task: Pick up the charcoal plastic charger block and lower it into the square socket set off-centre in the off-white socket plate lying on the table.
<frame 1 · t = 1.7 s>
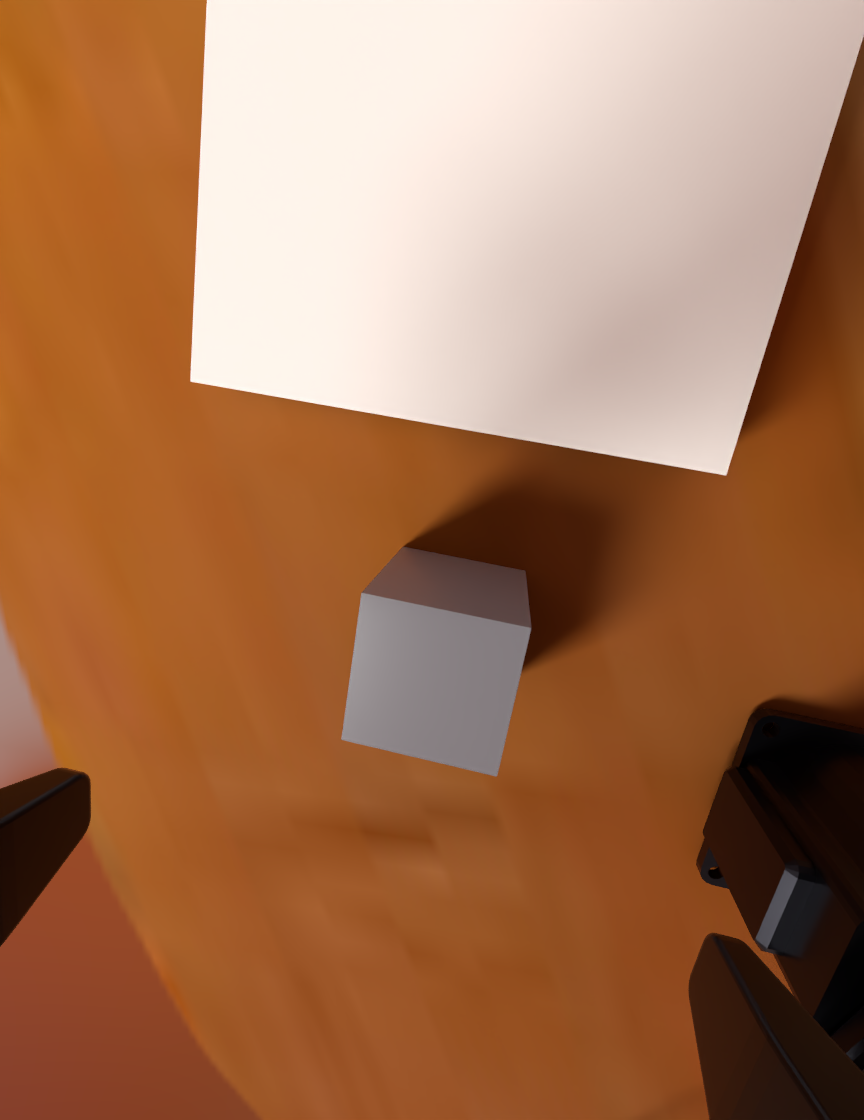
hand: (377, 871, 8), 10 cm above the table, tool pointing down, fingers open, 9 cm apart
charger: (452, 615, 18), on the table
socket plate: (516, 69, 14), on the table
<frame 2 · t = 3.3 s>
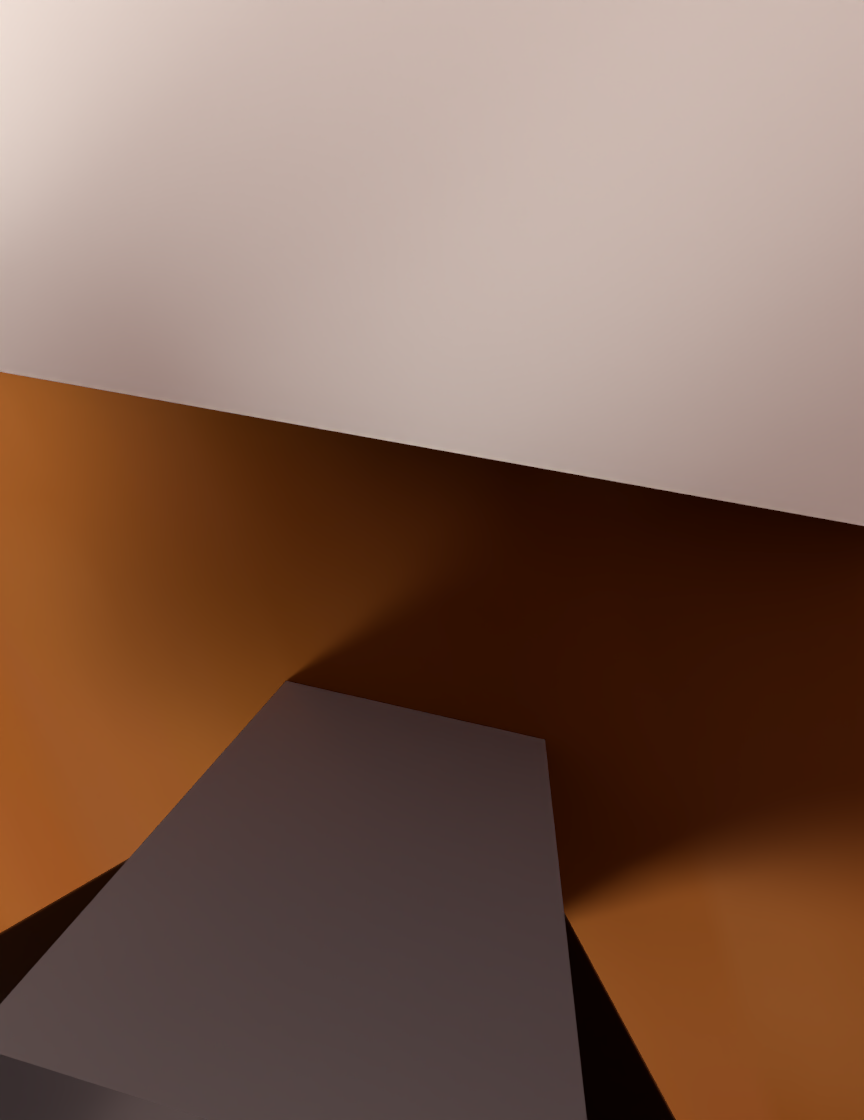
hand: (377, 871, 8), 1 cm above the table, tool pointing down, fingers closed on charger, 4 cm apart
charger: (393, 818, 8), on the table, touching gripper
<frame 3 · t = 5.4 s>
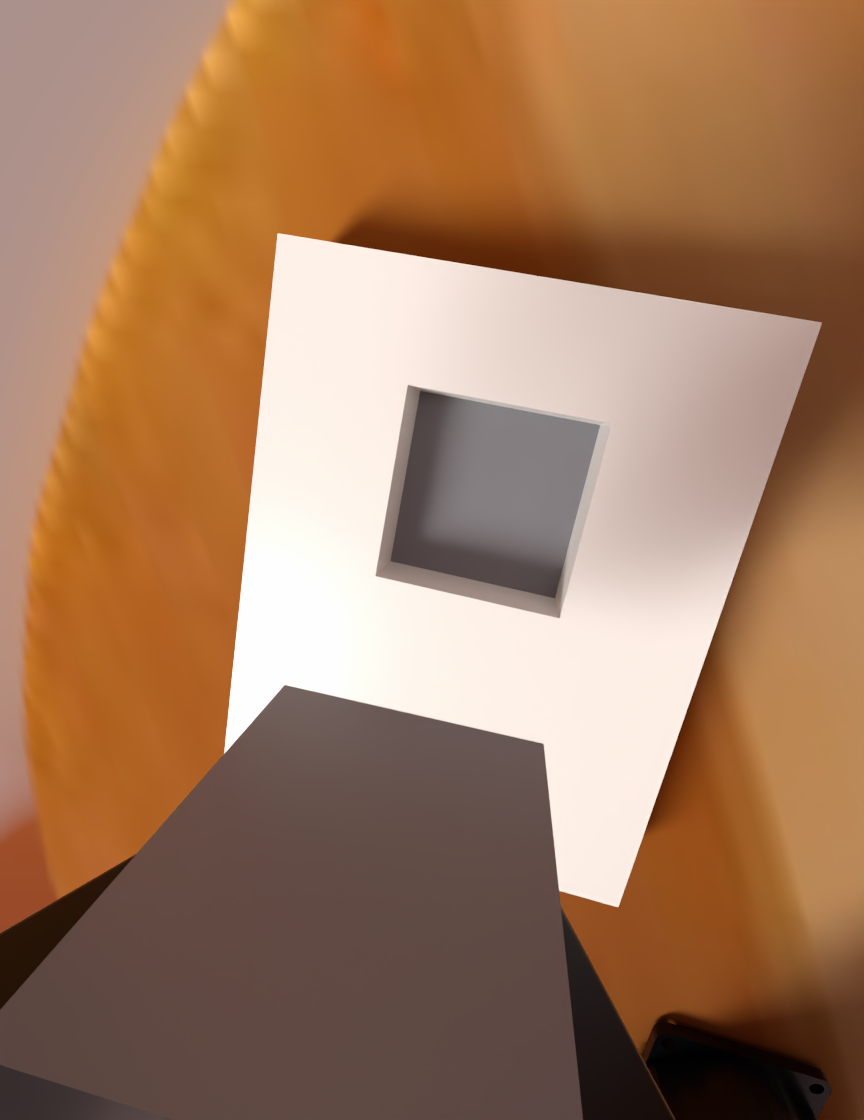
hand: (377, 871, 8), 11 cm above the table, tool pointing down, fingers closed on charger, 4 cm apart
charger: (392, 822, 8), point 10 cm above the table, touching gripper
socket plate: (471, 581, 18), on the table
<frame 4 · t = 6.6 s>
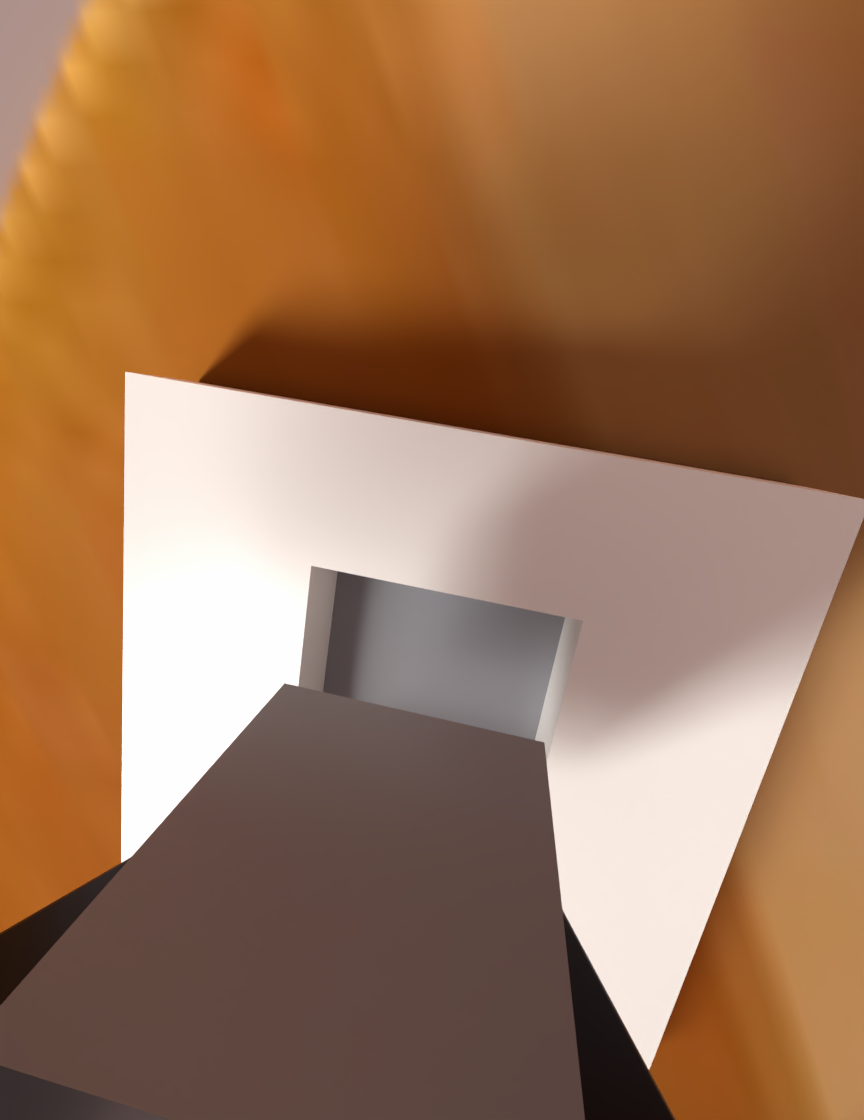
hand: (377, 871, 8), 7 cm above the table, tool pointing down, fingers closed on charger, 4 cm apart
charger: (392, 821, 8), point 6 cm above the table, touching gripper
socket plate: (419, 761, 15), on the table
when the fingers open (3 cm above the table, at t = 7.5 s): charger drops 2 cm, resting on socket plate.
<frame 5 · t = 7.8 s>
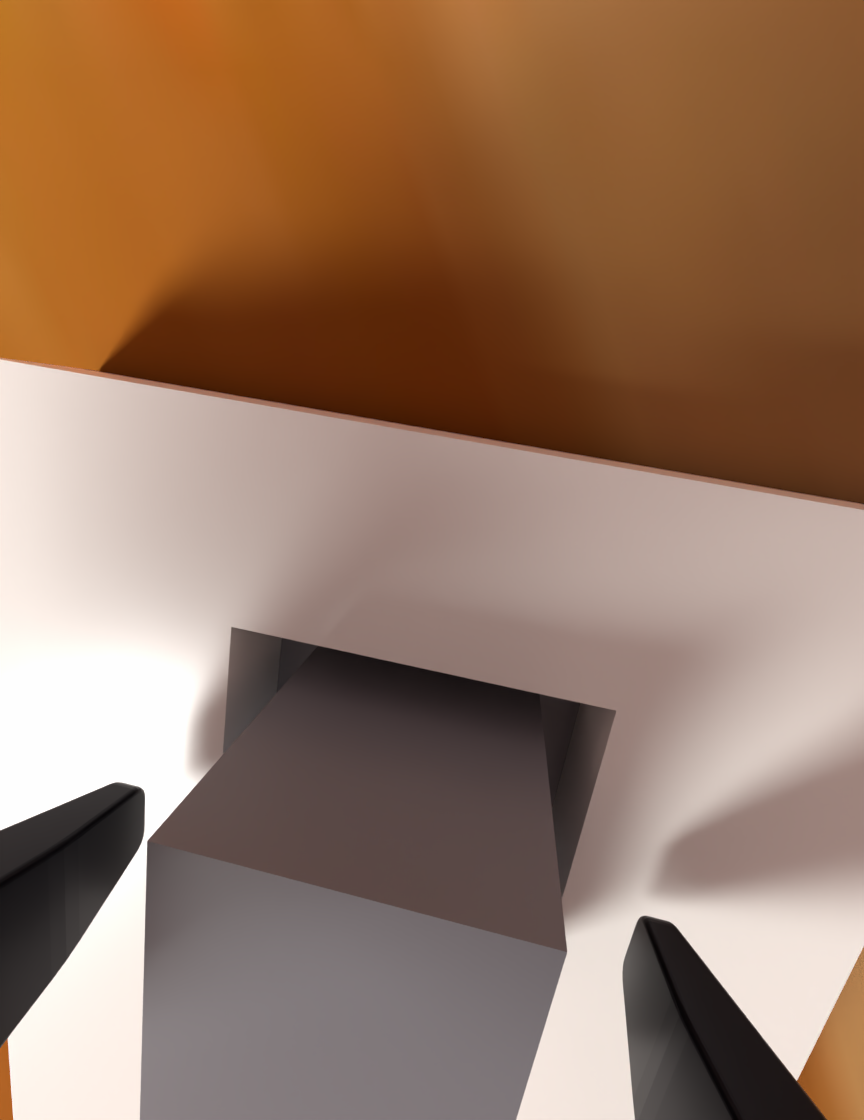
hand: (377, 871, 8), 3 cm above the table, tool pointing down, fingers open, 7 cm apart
charger: (412, 755, 10), resting on socket plate
socket plate: (395, 857, 11), on the table
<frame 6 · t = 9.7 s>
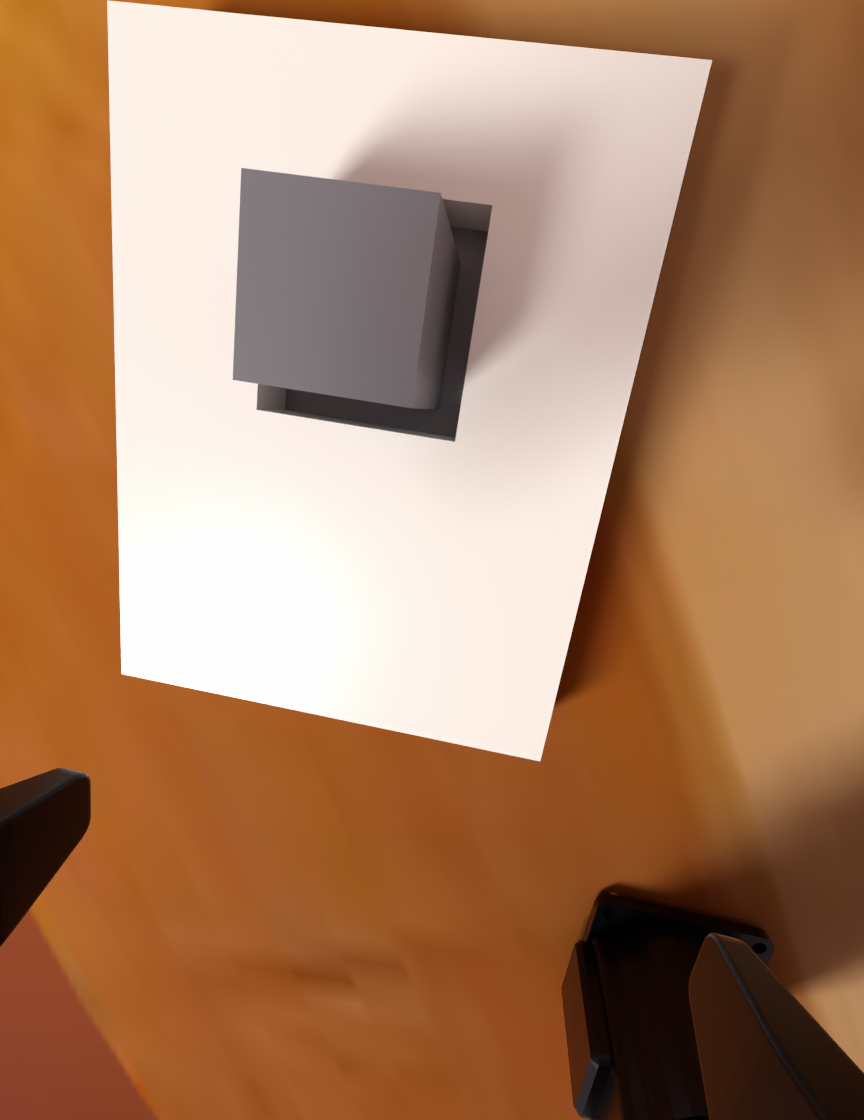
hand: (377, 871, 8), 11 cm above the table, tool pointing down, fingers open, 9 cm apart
charger: (382, 329, 16), resting on socket plate
socket plate: (374, 430, 17), on the table
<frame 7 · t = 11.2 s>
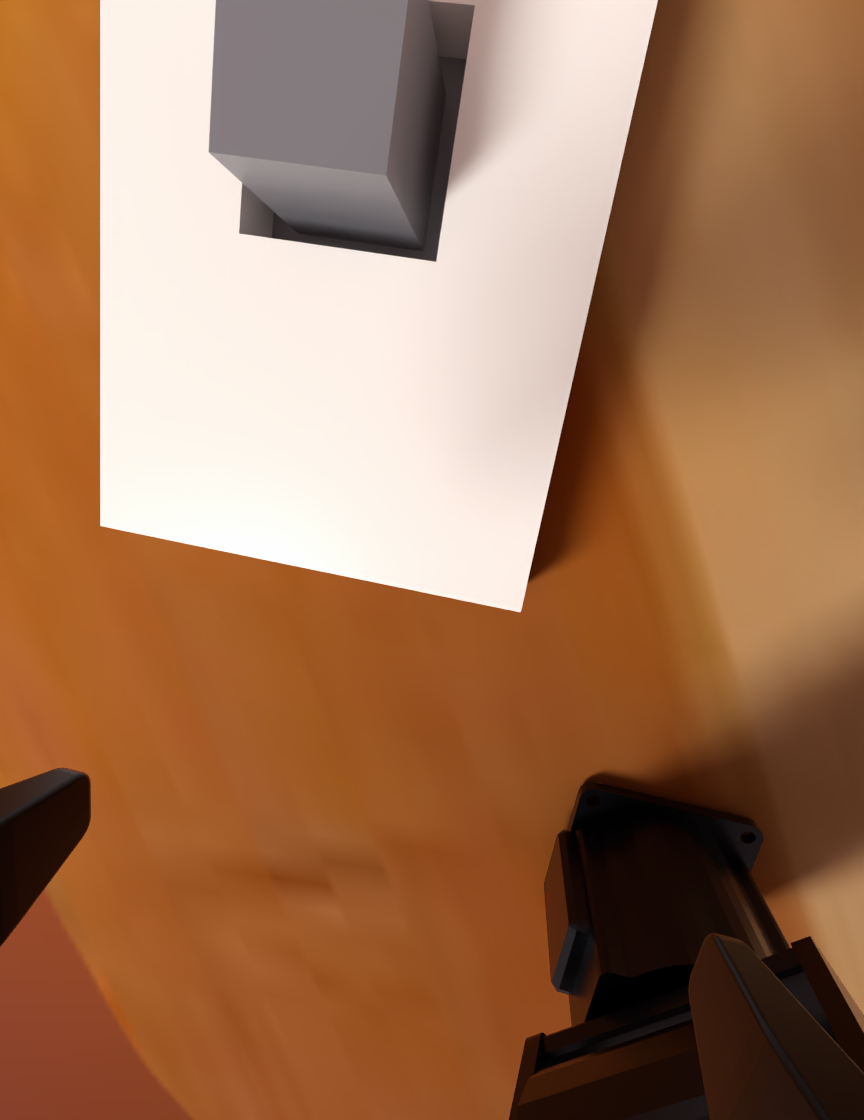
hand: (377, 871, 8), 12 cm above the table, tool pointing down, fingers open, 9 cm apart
charger: (368, 166, 16), resting on socket plate
socket plate: (359, 279, 17), on the table
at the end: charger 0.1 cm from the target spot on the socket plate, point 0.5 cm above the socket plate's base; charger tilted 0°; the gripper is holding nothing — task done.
